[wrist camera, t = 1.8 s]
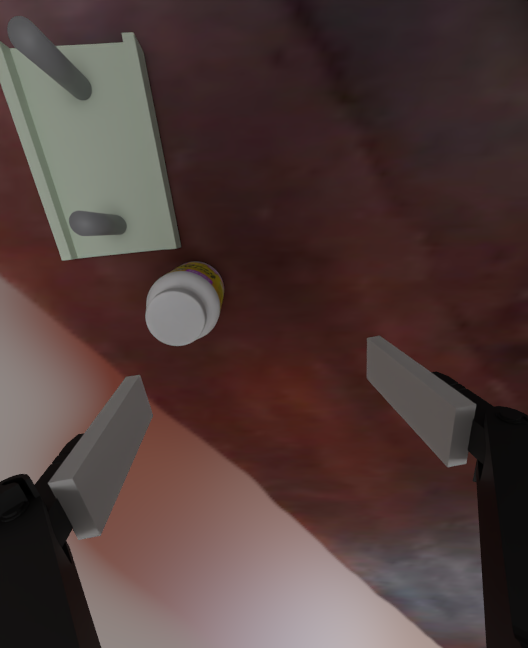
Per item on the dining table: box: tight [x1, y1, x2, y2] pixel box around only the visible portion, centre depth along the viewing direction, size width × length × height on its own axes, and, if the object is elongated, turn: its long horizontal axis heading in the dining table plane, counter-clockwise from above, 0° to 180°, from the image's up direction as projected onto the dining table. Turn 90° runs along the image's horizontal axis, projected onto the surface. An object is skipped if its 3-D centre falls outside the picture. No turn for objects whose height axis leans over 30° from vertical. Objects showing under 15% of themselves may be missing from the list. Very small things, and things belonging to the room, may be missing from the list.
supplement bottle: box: [145, 261, 224, 346], centre depth 27 cm, size 7×7×13 cm
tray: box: [0, 16, 181, 260], centre depth 24 cm, size 18×12×8 cm, turn 6°
